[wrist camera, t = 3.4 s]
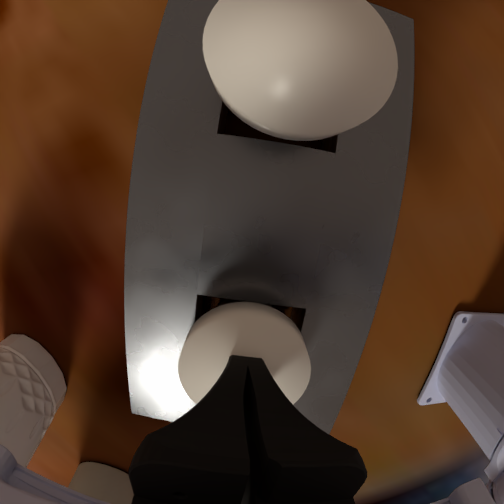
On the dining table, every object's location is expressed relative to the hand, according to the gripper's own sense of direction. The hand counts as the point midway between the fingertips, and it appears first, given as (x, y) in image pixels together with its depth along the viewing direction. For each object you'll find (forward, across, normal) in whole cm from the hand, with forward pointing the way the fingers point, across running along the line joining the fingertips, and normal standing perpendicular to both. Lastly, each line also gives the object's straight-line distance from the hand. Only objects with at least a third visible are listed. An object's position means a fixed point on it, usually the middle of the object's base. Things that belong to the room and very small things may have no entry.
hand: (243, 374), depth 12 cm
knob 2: (+5, 0, 0) cm, 5 cm away
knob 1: (+2, 0, -12) cm, 12 cm away
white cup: (+5, +16, +8) cm, 19 cm away
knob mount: (+5, 0, -6) cm, 8 cm away
